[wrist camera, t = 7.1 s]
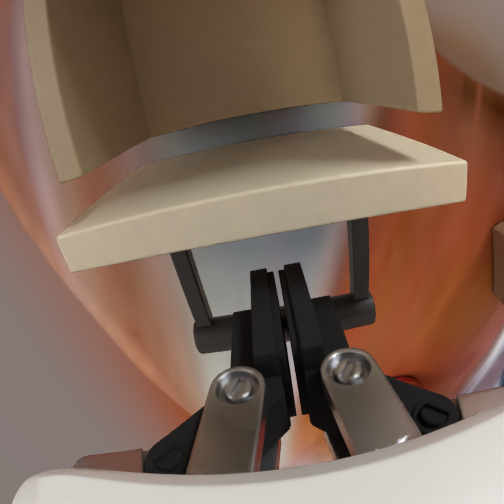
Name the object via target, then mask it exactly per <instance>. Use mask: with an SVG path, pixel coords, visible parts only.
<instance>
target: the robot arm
mask: <svg viewBox="0 0 504 504" xmlns="http://www.w3.org/2000/svg"><path fill="white" fill-rule="evenodd" d="M278 272H279V278H280V283H281V289H282V295H283V301H284V307H285V313H286V319H287V325H288V331H289V337H290V343H291V349H292V355H293V361H294V367H295V373H296V379H297V385H298V391H299V398H300V404H301V410H302V415H305V414H309V417H310V423H312V425H313V426H315V427H317V428H319V429H321V430H323V431H324V435H325V438H326V441H327V443H328V446H329V448H330V451H331V453H332V456H333V458H334V460H333V461H328V462H323V463H318V464H312V465H306V466H300V467H294V468H287V469H279V461H280V451H281V437H282V436H283V435H284V434H285V433H286V432H287V431H288V430H289V429H290V426H291V422H290V417H293V416H296V408H295V401H294V394H293V387H292V380H291V374H290V367H289V360H288V353H287V347H286V340H285V334H284V328H283V323H282V317H281V311H280V306H279V300H278V295H277V289H276V284H275V279H274V273H273V272H267V270H266V268H265V269H260V270H254V271H250V282H251V310H245V311H239V312H234V313H233V324H232V347H231V368H230V369H227V370H225V371H223V372H222V373H220V374H218V376H217V377H216V378H215V379H214V380H213V382H212V384H211V386H210V389H209V392H208V396H207V399H206V403H205V406H204V407H202V408H201V409H200V410H199V411H198V412H196V413H195V414H194V415H193V416H191V417H190V418H189V419H187V420H186V421H185V422H184V423H182V424H181V425H180V426H179V427H177V428H176V429H175V430H173V431H172V432H171V433H169V434H168V435H167V436H166V437H164V438H163V439H161V440H160V441H159V442H157V443H156V444H155V445H154V446H153V447H152V448H151V449H150V450H149V451H143V450H142V449H135V450H129V451H122V452H115V453H106V454H99V455H89V456H85V457H82V458H81V459H80V460H78V461H77V462H76V464H75V465H74V467H73V468H64V469H56V470H51V471H46V472H42V473H39V474H37V475H34V476H32V477H30V478H29V479H27V480H26V481H25V482H24V483H23V484H22V485H21V487H20V488H19V490H18V491H17V494H16V495H15V497H14V500H13V502H12V504H504V386H501V387H497V388H493V389H488V390H483V391H478V392H473V393H468V394H462V395H457V397H456V399H452V400H450V399H449V398H447V397H445V396H442V395H440V394H437V393H434V392H431V391H428V390H425V389H422V388H420V387H417V386H414V385H411V384H408V383H406V382H403V381H400V380H398V379H395V378H392V377H389V376H387V375H384V373H383V372H382V370H381V368H380V367H379V365H378V364H377V362H376V361H375V359H374V358H373V357H372V356H371V355H370V354H369V353H368V352H366V351H364V350H362V349H358V348H349V345H348V343H347V340H346V337H345V334H344V332H343V329H342V326H341V324H340V321H339V318H338V316H337V313H336V310H335V308H334V305H333V303H332V300H331V298H330V296H329V295H328V296H323V297H318V298H313V299H311V298H310V294H309V291H308V288H307V284H306V281H305V278H304V275H303V271H302V268H301V265H300V262H299V263H293V264H288V265H284V270H278Z"/></svg>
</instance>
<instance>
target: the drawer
mask: <svg viewBox="0 0 504 504" xmlns="http://www.w3.org/2000/svg"><path fill="white" fill-rule="evenodd" d="M23 4H24V18H25V28H26V37H27V45H28V53H29V59H30V66H31V72H32V77H33V83H34V88H35V93H36V98H37V102H38V107H39V111H40V115H41V119H42V123H43V127H44V131H45V135H46V139H47V142H48V146H49V149H50V153H51V156H52V160H53V163H54V166H55V169H56V173H57V176H58V179H59V182H60V183H62V184H63V183H65V182H68V181H71V180H74V179H76V178H79V177H82V176H84V175H85V174H87V173H88V172H90V171H92V170H93V169H95V168H97V167H98V166H100V165H102V164H104V163H105V162H107V161H109V160H110V159H112V158H114V157H116V156H118V155H119V154H121V153H123V152H125V151H127V150H128V149H130V148H132V147H134V146H136V145H138V144H140V143H141V142H143V141H145V140H147V139H149V138H152V137H155V136H159V135H162V134H166V133H170V132H174V131H177V130H181V129H185V128H189V127H193V126H197V125H201V124H206V123H210V122H215V121H219V120H224V119H228V118H233V117H238V116H243V115H249V114H254V113H260V112H265V111H271V110H278V109H284V108H291V107H298V106H305V105H313V104H322V103H331V102H341V101H346V102H355V103H363V104H371V105H378V106H384V107H391V108H397V109H403V110H408V111H414V112H419V113H426V112H442V99H441V89H440V81H439V73H438V66H437V59H436V53H435V47H434V42H433V37H432V32H431V27H430V22H429V18H428V13H427V9H426V5H425V1H424V0H23ZM466 189H467V162H466V161H465V160H463V159H460V158H458V157H456V156H453V155H451V154H448V153H446V152H444V151H441V150H439V149H436V148H434V147H431V146H428V145H426V144H423V143H420V142H418V141H415V140H412V139H409V138H407V137H404V136H401V135H398V134H395V133H392V132H389V131H386V130H383V129H380V128H377V127H373V126H370V125H359V126H349V127H340V128H331V129H323V130H316V131H309V132H302V133H295V134H289V135H282V136H276V137H270V138H265V139H259V140H254V141H248V142H243V143H238V144H233V145H228V146H224V147H219V148H214V149H210V150H205V151H201V152H197V153H192V154H188V155H184V156H180V157H176V158H172V159H168V160H164V161H161V162H157V163H153V164H149V165H146V166H142V167H139V168H136V169H135V170H134V171H133V172H131V173H130V174H129V175H127V176H126V177H125V178H124V179H122V180H121V181H120V182H119V183H117V184H116V185H115V186H114V187H112V188H111V189H110V190H109V191H108V192H106V193H105V194H104V195H103V196H102V197H100V198H99V199H98V200H97V201H96V202H95V203H93V204H92V205H91V206H90V207H89V208H88V209H86V210H85V211H84V212H83V213H82V214H81V215H80V216H79V217H77V218H76V219H75V220H74V221H73V222H72V223H71V224H70V225H69V226H68V227H67V228H65V229H64V230H63V231H62V232H61V233H60V234H59V235H58V236H57V238H56V239H57V242H58V245H59V247H60V249H61V251H62V254H63V256H64V258H65V260H66V262H67V265H68V267H69V269H70V271H71V272H73V273H74V272H78V271H83V270H88V269H93V268H98V267H103V266H108V265H113V264H118V263H123V262H128V261H133V260H138V259H143V258H149V257H154V256H159V255H164V254H169V253H170V255H171V258H172V260H173V263H174V266H175V269H176V272H177V275H178V277H179V280H180V283H181V286H182V288H183V291H184V294H185V296H186V299H187V302H188V304H189V307H190V310H191V312H192V315H193V318H194V320H195V323H194V329H193V332H194V340H195V344H196V347H197V349H198V351H199V352H200V353H202V354H204V353H213V352H221V351H228V350H231V347H232V324H233V314H232V315H226V316H219V317H213V316H212V313H211V310H210V307H209V304H208V301H207V298H206V295H205V292H204V289H203V286H202V283H201V280H200V277H199V274H198V271H197V268H196V264H195V261H194V258H193V255H192V252H191V249H195V248H200V247H206V246H211V245H216V244H222V243H227V242H232V241H238V240H243V239H249V238H254V237H259V236H265V235H270V234H276V233H281V232H287V231H292V230H298V229H304V228H309V227H315V226H321V225H326V224H332V223H338V222H343V221H347V227H348V244H349V268H350V293H348V294H343V295H338V296H333V297H330V298H331V300H332V303H333V305H334V308H335V310H336V313H337V316H338V318H339V321H340V324H341V326H342V329H343V330H348V329H352V328H357V327H361V326H366V325H370V324H373V323H374V322H375V317H376V311H375V304H374V300H373V297H372V295H371V293H370V292H369V228H368V217H372V216H378V215H384V214H390V213H396V212H402V211H408V210H414V209H420V208H426V207H432V206H438V205H444V204H451V203H457V202H463V201H465V200H466ZM280 311H281V317H282V323H283V328H284V334H285V340H286V342H287V341H290V337H289V331H288V325H287V319H286V313H285V307H284V306H280Z"/></svg>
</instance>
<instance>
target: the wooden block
mask: <svg viewBox="0 0 504 504" xmlns="http://www.w3.org/2000/svg"><path fill="white" fill-rule="evenodd" d="M492 232H493V253H494V286H493V292H494V294H495V295H496V297H497V298H498V299H499V300H500V301H501V302H502V303H503V304H504V221H503V222H501V223H499V224H498V225H496V226H494V227H493V229H492Z"/></svg>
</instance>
